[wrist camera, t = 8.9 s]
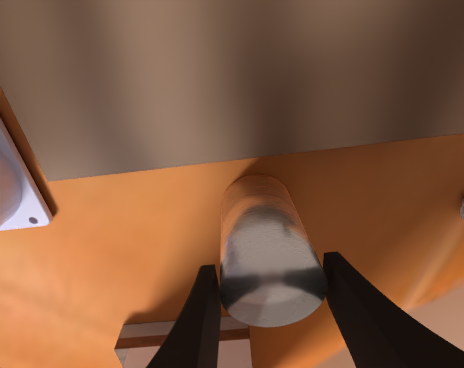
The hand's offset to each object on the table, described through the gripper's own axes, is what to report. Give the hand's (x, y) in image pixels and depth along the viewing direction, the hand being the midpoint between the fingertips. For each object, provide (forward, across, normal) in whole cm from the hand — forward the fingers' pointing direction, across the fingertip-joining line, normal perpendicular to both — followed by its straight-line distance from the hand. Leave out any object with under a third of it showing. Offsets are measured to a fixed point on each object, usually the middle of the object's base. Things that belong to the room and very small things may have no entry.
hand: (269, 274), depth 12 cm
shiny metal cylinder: (+6, 0, 0) cm, 6 cm away
